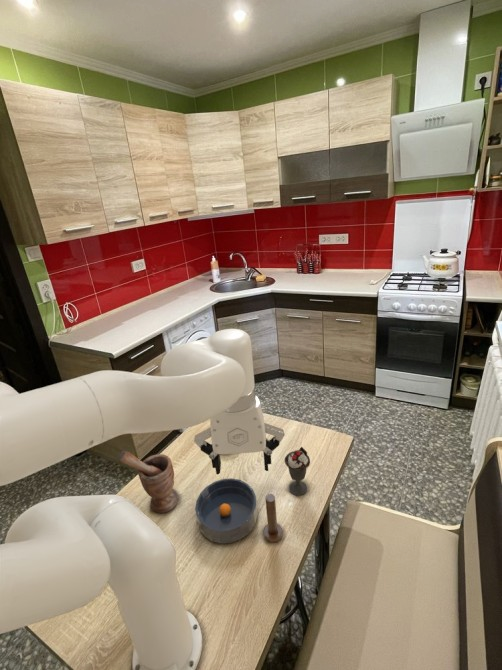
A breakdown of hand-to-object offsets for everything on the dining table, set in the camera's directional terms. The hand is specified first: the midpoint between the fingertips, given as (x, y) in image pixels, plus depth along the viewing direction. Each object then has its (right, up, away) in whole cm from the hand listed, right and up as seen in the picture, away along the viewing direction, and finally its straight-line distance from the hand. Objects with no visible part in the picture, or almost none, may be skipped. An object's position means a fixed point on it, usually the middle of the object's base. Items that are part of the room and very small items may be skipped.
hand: (242, 467), depth 70 cm
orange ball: (-5, -18, +18) cm, 26 cm away
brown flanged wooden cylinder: (+7, -21, +13) cm, 26 cm away
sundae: (+15, -15, +25) cm, 33 cm away
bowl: (-4, -20, +19) cm, 28 cm away
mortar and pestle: (-23, -19, +24) cm, 38 cm away
